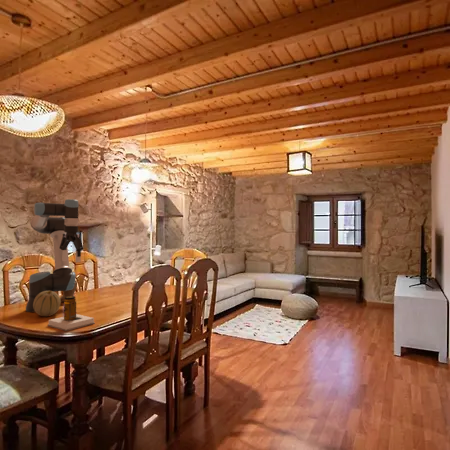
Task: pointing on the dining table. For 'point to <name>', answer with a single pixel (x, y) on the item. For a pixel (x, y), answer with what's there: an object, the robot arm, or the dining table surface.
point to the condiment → (70, 309)
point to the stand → (71, 323)
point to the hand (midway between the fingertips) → (71, 261)
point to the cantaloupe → (46, 303)
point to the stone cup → (68, 293)
